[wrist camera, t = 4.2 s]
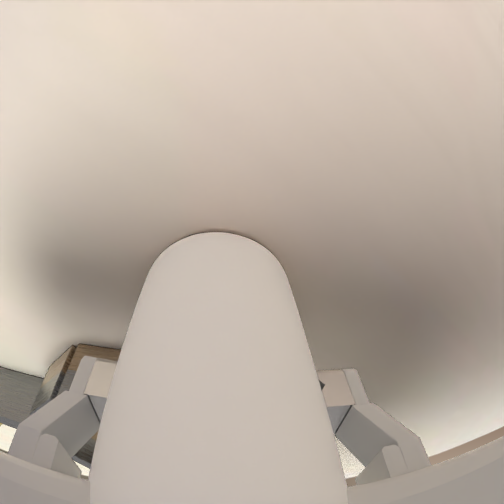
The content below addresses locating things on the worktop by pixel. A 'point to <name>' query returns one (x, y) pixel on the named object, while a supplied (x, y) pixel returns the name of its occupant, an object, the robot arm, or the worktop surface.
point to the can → (216, 388)
